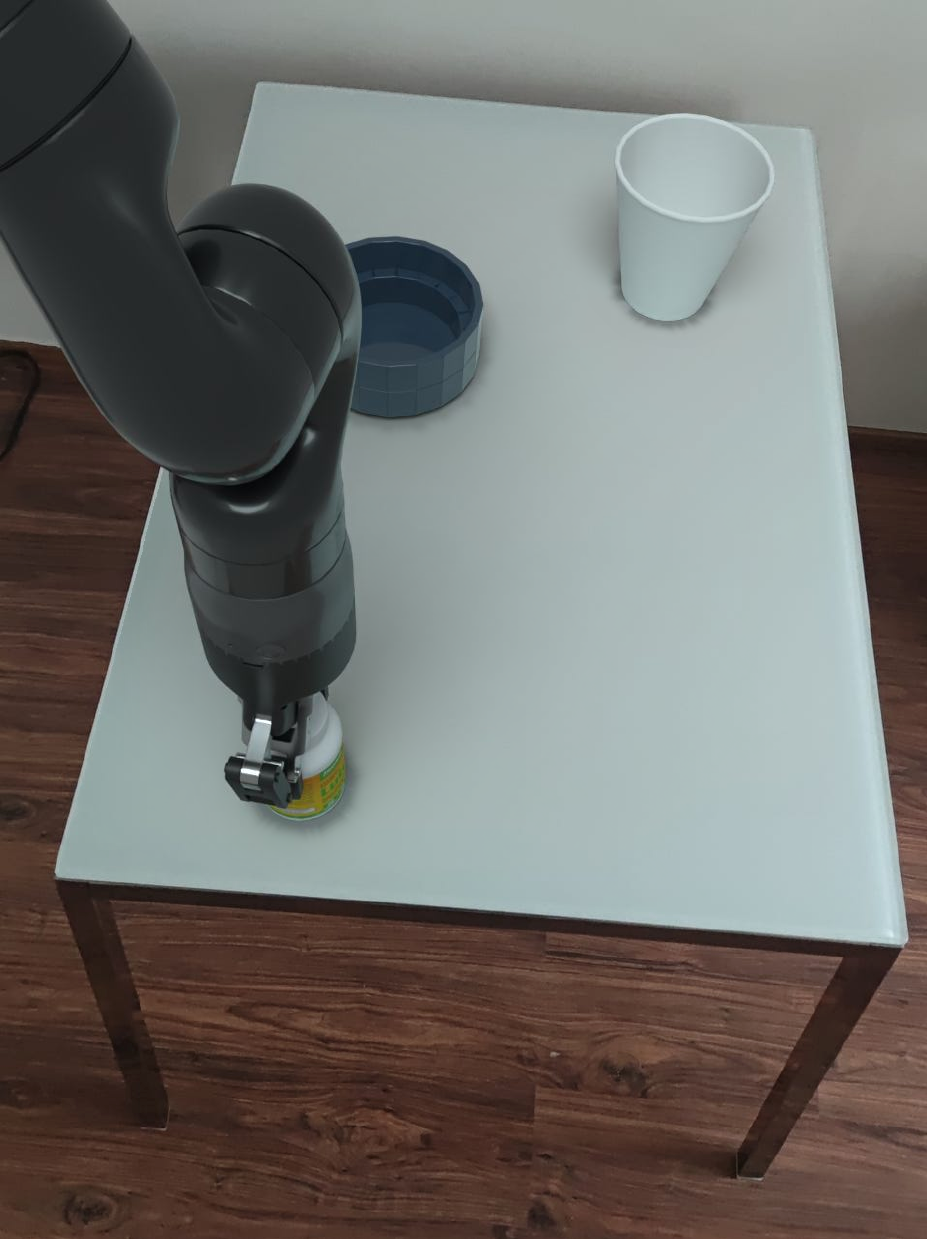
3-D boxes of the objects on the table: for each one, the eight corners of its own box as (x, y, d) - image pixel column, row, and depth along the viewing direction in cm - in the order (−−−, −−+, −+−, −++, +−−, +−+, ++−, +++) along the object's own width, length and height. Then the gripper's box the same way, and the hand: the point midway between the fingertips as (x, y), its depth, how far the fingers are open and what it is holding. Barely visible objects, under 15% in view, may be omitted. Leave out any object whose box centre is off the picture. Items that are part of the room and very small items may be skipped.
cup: (673, 367, 95) (709, 244, 84) (560, 288, 99) (581, 160, 88) (764, 293, 100) (808, 167, 89) (652, 220, 104) (682, 91, 93)
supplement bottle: (336, 830, 74) (329, 763, 66) (249, 815, 74) (231, 746, 66) (354, 750, 77) (349, 676, 68) (270, 736, 77) (256, 661, 69)
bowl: (287, 405, 91) (281, 348, 86) (329, 282, 98) (325, 223, 93) (460, 435, 90) (465, 380, 85) (490, 310, 97) (496, 252, 92)
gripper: (237, 455, 60) (266, 629, 75) (146, 709, 53) (198, 848, 67) (385, 482, 60) (386, 651, 74) (314, 741, 52) (331, 874, 67)
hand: (296, 744), depth 71 cm, fingers closed on supplement bottle, 5 cm apart
